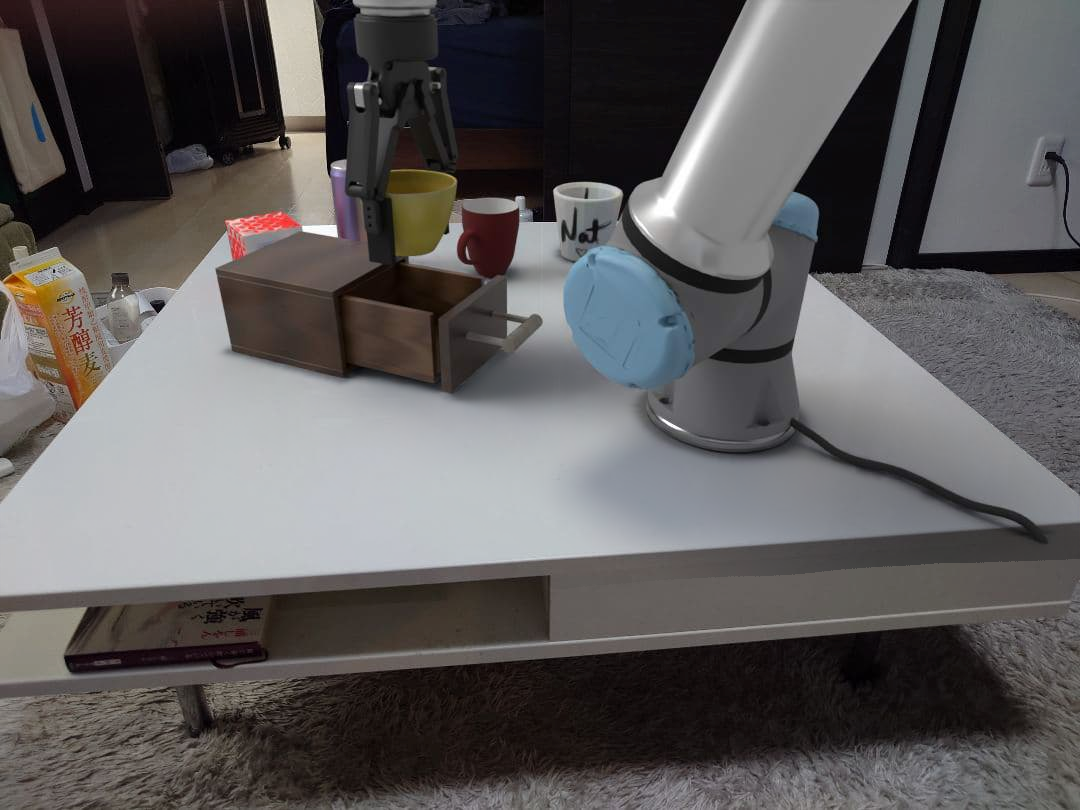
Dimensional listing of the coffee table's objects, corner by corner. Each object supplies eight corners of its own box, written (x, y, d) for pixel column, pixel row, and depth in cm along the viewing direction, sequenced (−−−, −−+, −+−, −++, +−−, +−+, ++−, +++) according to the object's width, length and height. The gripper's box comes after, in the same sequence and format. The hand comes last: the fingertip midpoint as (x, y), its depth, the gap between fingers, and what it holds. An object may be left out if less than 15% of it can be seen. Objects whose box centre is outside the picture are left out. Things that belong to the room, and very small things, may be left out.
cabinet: (413, 327, 96) (408, 249, 91) (343, 378, 85) (332, 292, 79) (311, 305, 101) (300, 230, 96) (231, 350, 90) (214, 268, 85)
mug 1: (489, 293, 106) (488, 222, 101) (442, 281, 110) (438, 212, 104) (529, 270, 114) (530, 203, 109) (484, 260, 117) (483, 194, 112)
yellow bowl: (446, 230, 87) (443, 165, 84) (471, 259, 79) (468, 189, 76) (356, 238, 84) (349, 172, 81) (372, 270, 76) (365, 197, 73)
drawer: (553, 352, 89) (555, 284, 85) (502, 406, 78) (501, 331, 74) (401, 320, 96) (396, 256, 91) (336, 366, 85) (326, 296, 81)
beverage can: (341, 276, 111) (329, 169, 103) (341, 262, 116) (329, 159, 108) (384, 273, 112) (374, 168, 104) (381, 259, 117) (372, 158, 109)
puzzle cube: (289, 264, 114) (281, 211, 110) (309, 280, 109) (301, 225, 105) (235, 275, 110) (224, 220, 106) (253, 292, 105) (242, 236, 101)
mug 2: (547, 264, 116) (549, 197, 111) (558, 233, 129) (560, 172, 124) (616, 268, 115) (621, 201, 110) (621, 237, 128) (625, 176, 123)
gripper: (423, 3, 81) (434, 213, 92) (279, 16, 63) (315, 275, 74) (488, 6, 78) (491, 222, 90) (356, 21, 60) (381, 288, 72)
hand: (411, 246), depth 82 cm, fingers closed on yellow bowl, 10 cm apart
